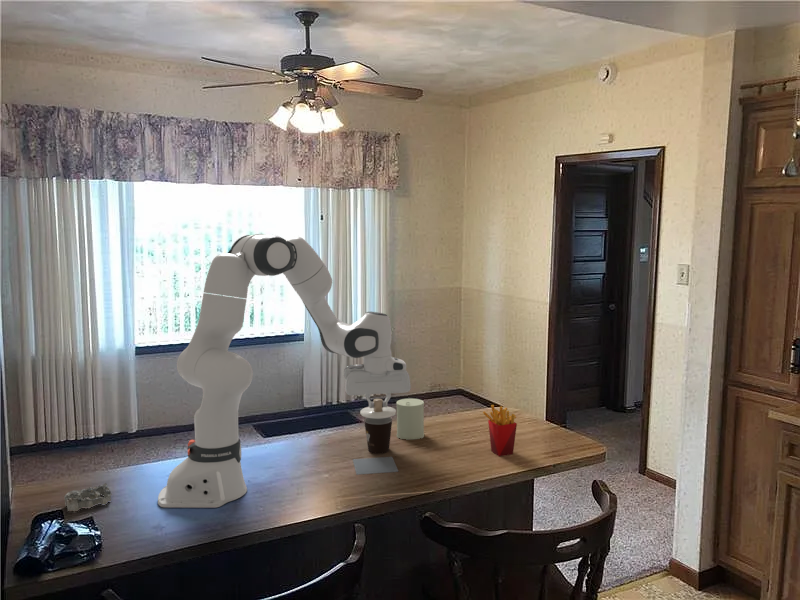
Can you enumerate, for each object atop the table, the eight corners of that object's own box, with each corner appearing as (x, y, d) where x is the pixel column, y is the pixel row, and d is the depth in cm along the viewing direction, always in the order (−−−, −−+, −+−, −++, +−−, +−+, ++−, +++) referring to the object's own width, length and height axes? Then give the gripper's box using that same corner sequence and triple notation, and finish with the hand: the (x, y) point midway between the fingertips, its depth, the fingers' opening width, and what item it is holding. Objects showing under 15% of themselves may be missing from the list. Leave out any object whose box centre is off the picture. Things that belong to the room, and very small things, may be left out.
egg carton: (66, 515, 167) (65, 499, 166) (64, 504, 173) (63, 489, 173) (113, 505, 172) (111, 490, 172) (108, 495, 178) (107, 480, 178)
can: (393, 439, 220) (392, 403, 218) (401, 430, 228) (400, 396, 227) (420, 441, 217) (419, 405, 216) (427, 432, 226) (427, 398, 224)
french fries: (506, 447, 210) (506, 401, 209) (520, 456, 203) (520, 408, 201) (481, 451, 207) (481, 404, 205) (494, 460, 200) (494, 411, 198)
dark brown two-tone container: (392, 456, 204) (391, 424, 203) (363, 456, 204) (363, 424, 203) (393, 443, 216) (392, 413, 214) (366, 443, 216) (366, 413, 215)
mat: (356, 475, 189) (356, 474, 189) (352, 460, 201) (352, 459, 201) (398, 472, 191) (398, 471, 191) (392, 457, 203) (392, 456, 203)
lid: (362, 419, 202) (362, 405, 202) (358, 409, 213) (358, 396, 212) (398, 417, 204) (398, 403, 204) (392, 407, 215) (392, 394, 214)
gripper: (344, 367, 202) (345, 412, 204) (411, 364, 205) (411, 408, 207) (343, 363, 208) (343, 406, 210) (407, 360, 211) (408, 402, 213)
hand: (378, 407), depth 208 cm, fingers closed on lid, 3 cm apart
